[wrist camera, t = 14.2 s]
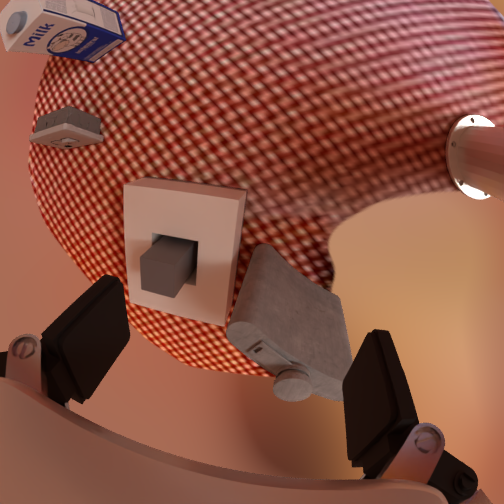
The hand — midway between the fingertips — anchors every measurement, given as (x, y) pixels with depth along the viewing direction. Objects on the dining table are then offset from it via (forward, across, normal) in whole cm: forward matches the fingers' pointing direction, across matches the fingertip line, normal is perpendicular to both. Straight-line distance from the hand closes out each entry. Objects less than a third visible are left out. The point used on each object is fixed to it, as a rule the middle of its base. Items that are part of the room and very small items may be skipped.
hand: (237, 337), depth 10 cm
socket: (+28, +12, +10) cm, 32 cm away
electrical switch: (+29, +32, -6) cm, 43 cm away
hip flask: (+29, -5, +13) cm, 32 cm away
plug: (+27, +12, +10) cm, 31 cm away
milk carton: (+28, +30, -22) cm, 47 cm away
